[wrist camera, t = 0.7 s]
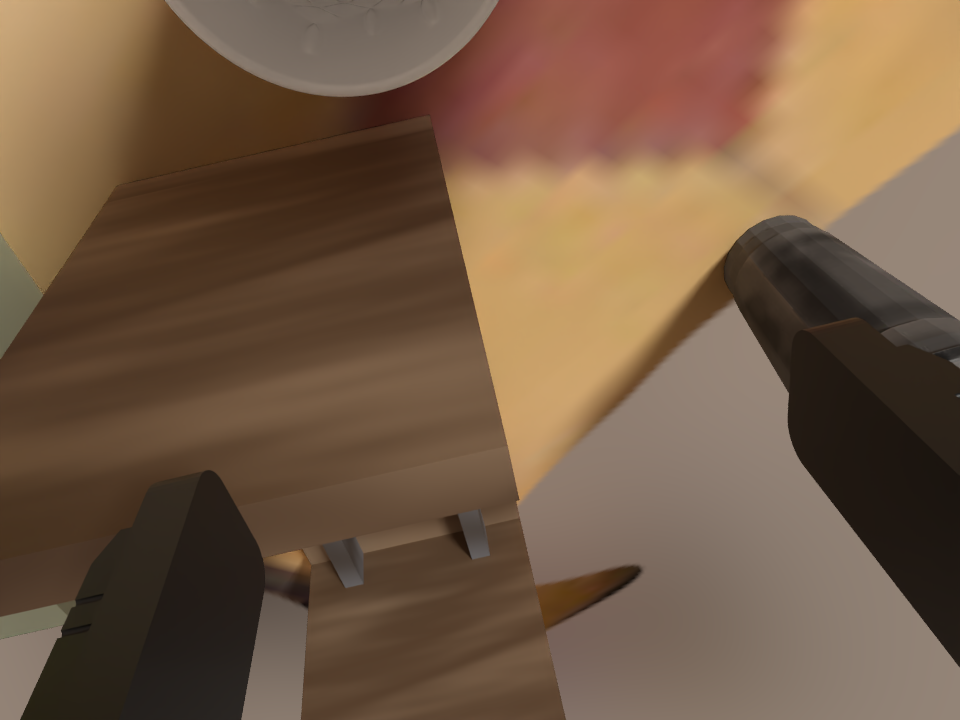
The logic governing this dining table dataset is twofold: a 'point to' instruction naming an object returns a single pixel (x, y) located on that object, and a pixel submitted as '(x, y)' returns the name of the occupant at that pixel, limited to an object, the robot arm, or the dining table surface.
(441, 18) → the white cup
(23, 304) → the pale green rectangular block
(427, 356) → the wooden u-shaped holder
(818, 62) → the dining table surface
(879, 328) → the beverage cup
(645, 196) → the dining table surface
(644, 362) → the dining table surface
